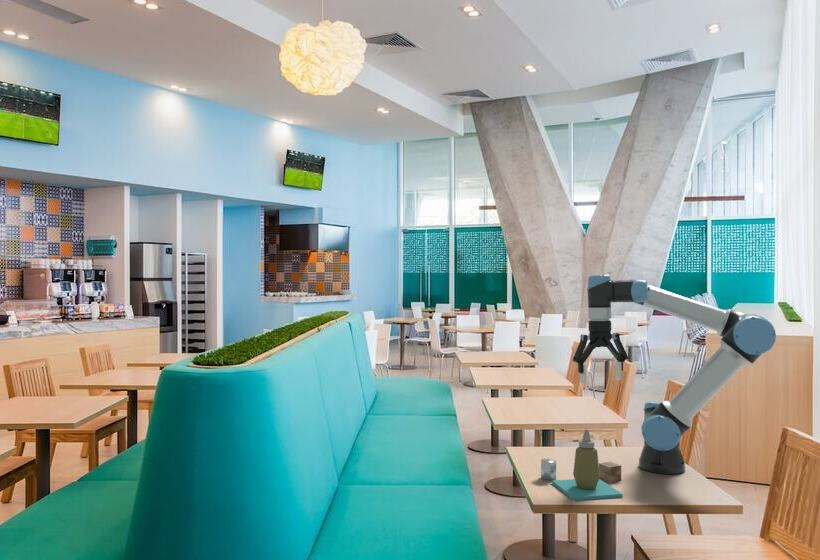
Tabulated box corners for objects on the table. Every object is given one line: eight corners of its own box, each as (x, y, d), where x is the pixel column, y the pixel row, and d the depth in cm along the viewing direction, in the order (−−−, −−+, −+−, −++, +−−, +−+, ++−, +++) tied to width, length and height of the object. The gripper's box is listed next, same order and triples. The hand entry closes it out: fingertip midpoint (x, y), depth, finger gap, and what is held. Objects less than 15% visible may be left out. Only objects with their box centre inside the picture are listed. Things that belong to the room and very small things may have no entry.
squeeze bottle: (568, 487, 201) (568, 430, 201) (580, 481, 207) (580, 425, 207) (593, 493, 195) (593, 434, 195) (604, 486, 202) (604, 429, 202)
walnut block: (610, 476, 216) (610, 461, 216) (621, 480, 211) (621, 465, 211) (598, 478, 214) (599, 463, 214) (609, 482, 209) (609, 467, 209)
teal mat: (597, 480, 211) (597, 477, 211) (622, 497, 195) (622, 493, 195) (551, 483, 208) (551, 480, 208) (573, 500, 192) (573, 497, 192)
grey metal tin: (552, 476, 216) (552, 458, 216) (558, 480, 211) (558, 462, 211) (538, 477, 215) (538, 459, 215) (544, 481, 210) (544, 463, 210)
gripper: (624, 318, 227) (626, 377, 227) (561, 320, 220) (563, 382, 220) (637, 319, 220) (639, 380, 220) (572, 321, 213) (574, 385, 213)
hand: (601, 381), depth 220 cm, fingers open, 13 cm apart
